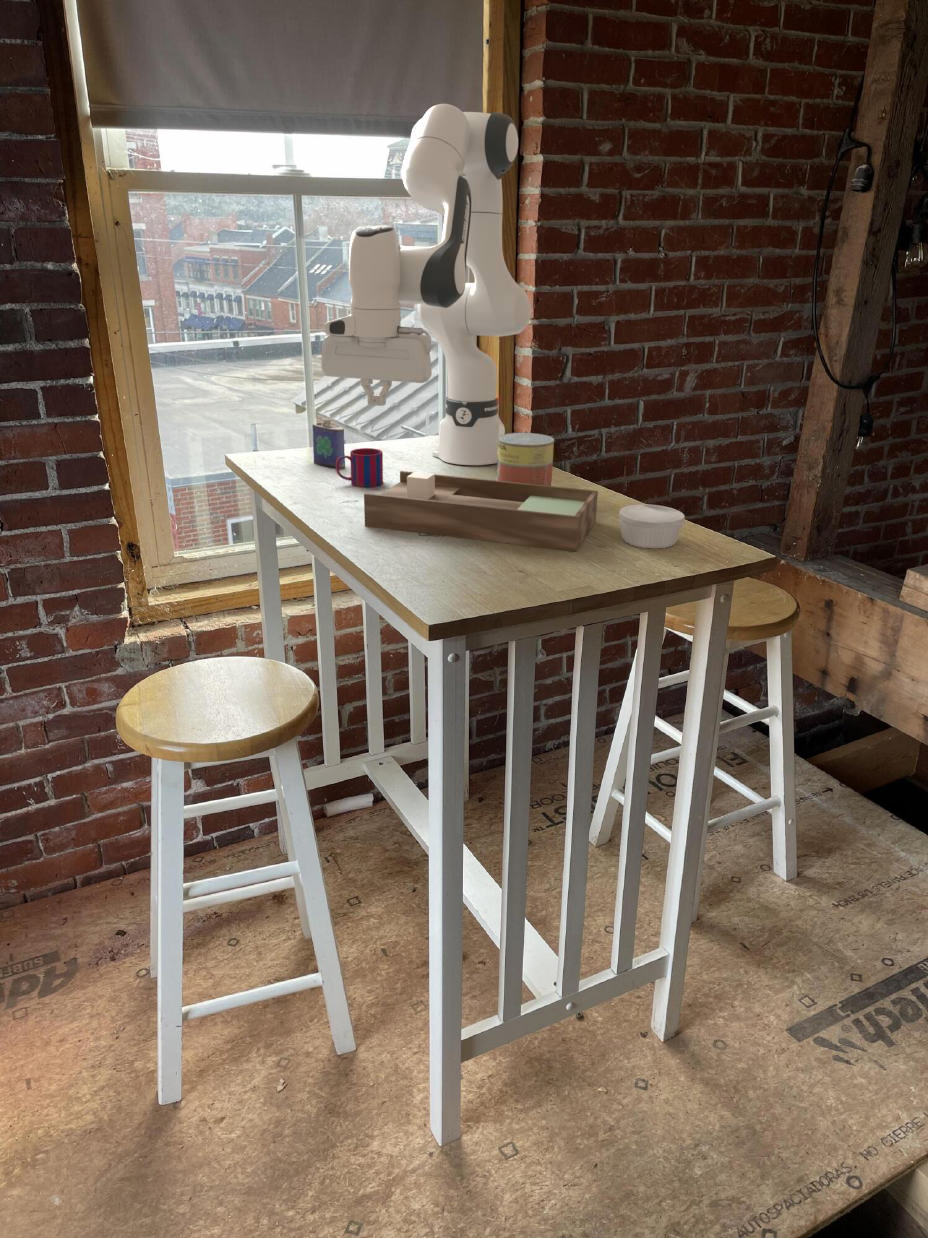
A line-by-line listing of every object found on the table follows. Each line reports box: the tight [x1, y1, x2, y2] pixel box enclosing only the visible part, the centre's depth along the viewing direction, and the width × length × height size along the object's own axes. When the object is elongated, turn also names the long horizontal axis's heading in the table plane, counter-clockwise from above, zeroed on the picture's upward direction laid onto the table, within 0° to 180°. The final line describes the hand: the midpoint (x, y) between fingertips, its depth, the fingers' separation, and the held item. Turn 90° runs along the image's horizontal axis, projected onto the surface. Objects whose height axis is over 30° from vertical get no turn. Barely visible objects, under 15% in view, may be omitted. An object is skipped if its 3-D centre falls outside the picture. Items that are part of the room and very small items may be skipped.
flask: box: [312, 417, 346, 470], centre depth 204 cm, size 9×3×11 cm, turn 52°
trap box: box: [363, 470, 599, 553], centre depth 166 cm, size 18×39×6 cm, turn 72°
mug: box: [335, 447, 384, 488], centre depth 190 cm, size 7×10×7 cm
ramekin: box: [618, 503, 686, 549], centre depth 159 cm, size 11×11×5 cm
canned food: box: [496, 432, 555, 486], centre depth 182 cm, size 11×11×12 cm
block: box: [407, 471, 436, 500], centre depth 168 cm, size 4×4×4 cm
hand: (376, 404), depth 165 cm, fingers closed
